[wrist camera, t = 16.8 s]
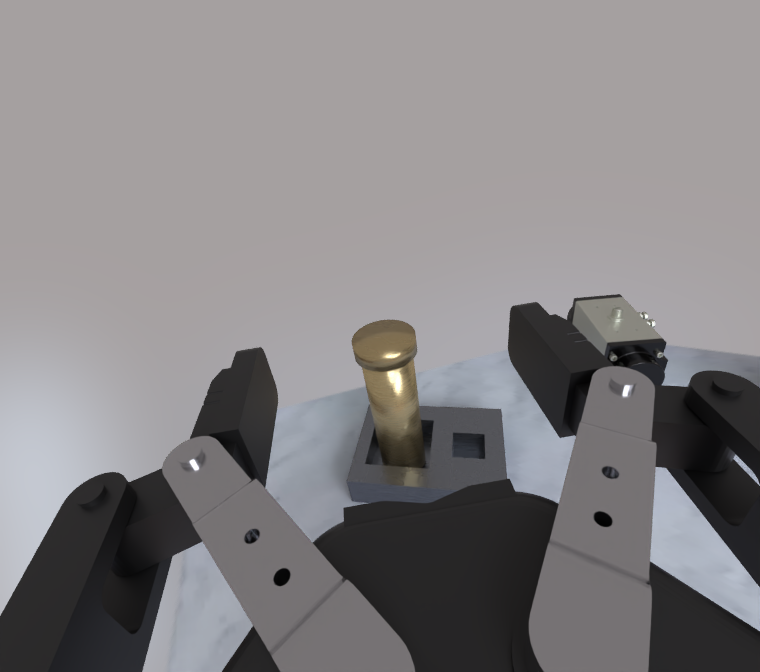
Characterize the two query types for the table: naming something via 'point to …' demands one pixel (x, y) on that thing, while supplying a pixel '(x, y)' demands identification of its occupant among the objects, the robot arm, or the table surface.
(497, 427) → the plate
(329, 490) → the table surface
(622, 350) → the pneumatic valve
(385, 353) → the brass headed pin
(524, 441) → the table surface
